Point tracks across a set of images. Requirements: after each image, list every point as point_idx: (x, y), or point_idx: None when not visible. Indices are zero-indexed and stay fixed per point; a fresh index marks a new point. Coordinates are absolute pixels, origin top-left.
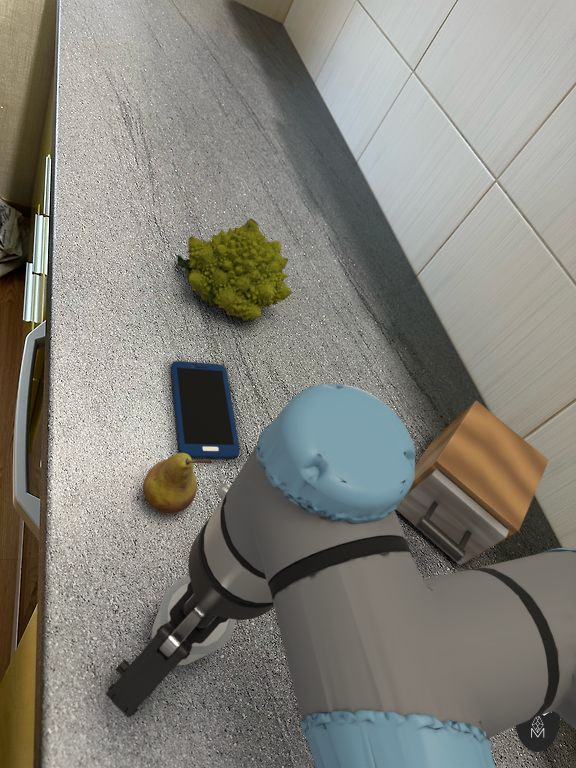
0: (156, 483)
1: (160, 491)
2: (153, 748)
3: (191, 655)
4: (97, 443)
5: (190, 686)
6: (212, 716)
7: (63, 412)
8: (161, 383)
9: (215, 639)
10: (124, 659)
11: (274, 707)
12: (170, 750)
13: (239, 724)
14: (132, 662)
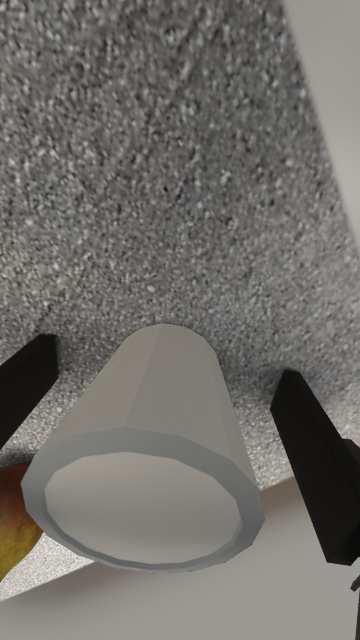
0: (9, 570)
1: (13, 558)
2: (354, 314)
3: (253, 472)
4: (50, 542)
5: (232, 312)
6: (260, 245)
7: (56, 570)
8: None
9: (176, 462)
10: (352, 589)
11: (167, 106)
12: (348, 286)
13: (247, 177)
14: (343, 563)
